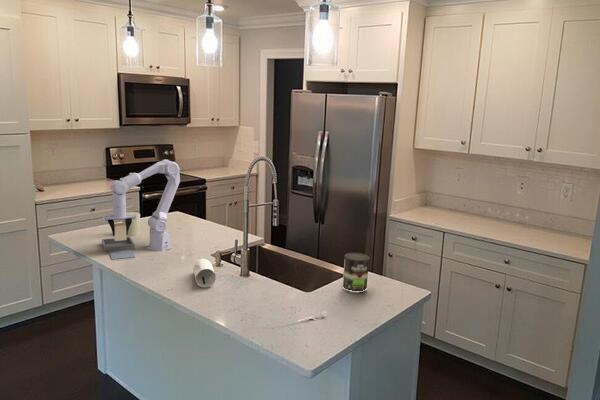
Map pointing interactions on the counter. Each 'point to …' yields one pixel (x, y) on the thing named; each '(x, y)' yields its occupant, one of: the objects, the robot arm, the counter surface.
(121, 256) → the mat
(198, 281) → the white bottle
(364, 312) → the counter surface
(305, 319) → the fork
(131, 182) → the robot arm
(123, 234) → the block
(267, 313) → the counter surface
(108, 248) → the gray square tray
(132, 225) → the can
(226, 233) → the counter surface
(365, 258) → the coffee can
